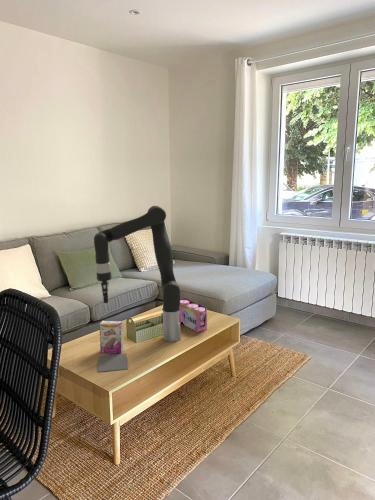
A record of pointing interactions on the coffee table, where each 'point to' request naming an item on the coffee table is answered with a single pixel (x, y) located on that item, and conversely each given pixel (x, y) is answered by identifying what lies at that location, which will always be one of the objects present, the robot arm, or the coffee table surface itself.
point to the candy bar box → (111, 337)
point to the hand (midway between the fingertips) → (106, 300)
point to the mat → (112, 362)
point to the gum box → (193, 315)
